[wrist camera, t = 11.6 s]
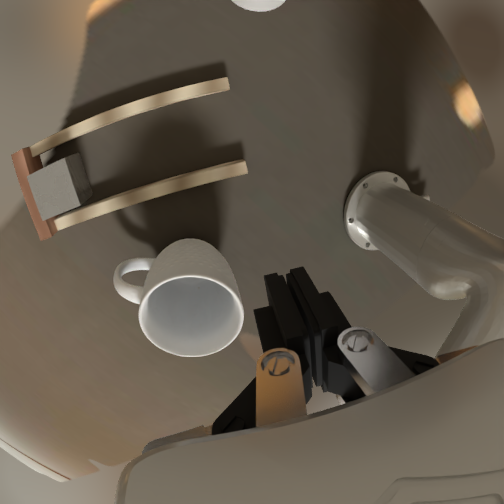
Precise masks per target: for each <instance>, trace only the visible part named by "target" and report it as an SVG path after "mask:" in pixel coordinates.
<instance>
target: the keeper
mask: <svg viewBox="0 0 504 504" xmlns="http://www.w3.org/2000/svg"><path fill="white" fill-rule="evenodd" d="M27 179H28V182H29V185H30V188H31V191H32V194H33V197H34V200H35V202H36V205H37V208H38V210H39V213H40V216H41V218H42V221H44V220H47V219H49V218H51V217H54V216H56V215H58V214H61V213H63V212H66V211H68V210H71V209H73V208H76V207H78V206H81V205H82V204H83V203H84V202H85V201H86V200H87V199H89V198H90V197H91V196H92V195H93V193H92V190H91V187H90V184H89V181H88V178H87V175H86V172H85V169H84V166H83V162H82V159H81V156H80V152H78V153H76V154H73V155H70V156H68V157H65V158H63V159H61V160H59V161H56V162H54V163H52V164H50V165H48V166H46V167H44V168H42V169H40V170H38V171H36V172H34V173H32V174H30V175H28V176H27Z"/></svg>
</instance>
